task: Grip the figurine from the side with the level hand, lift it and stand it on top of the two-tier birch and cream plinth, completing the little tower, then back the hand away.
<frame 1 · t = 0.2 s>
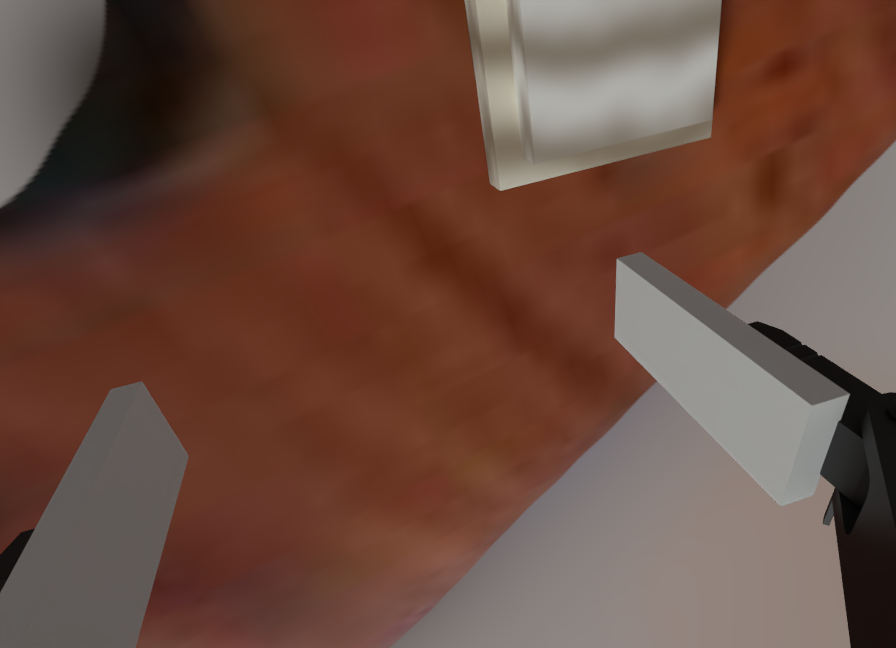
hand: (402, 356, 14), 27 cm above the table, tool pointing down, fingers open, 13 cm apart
plinth: (588, 34, 37), on the table
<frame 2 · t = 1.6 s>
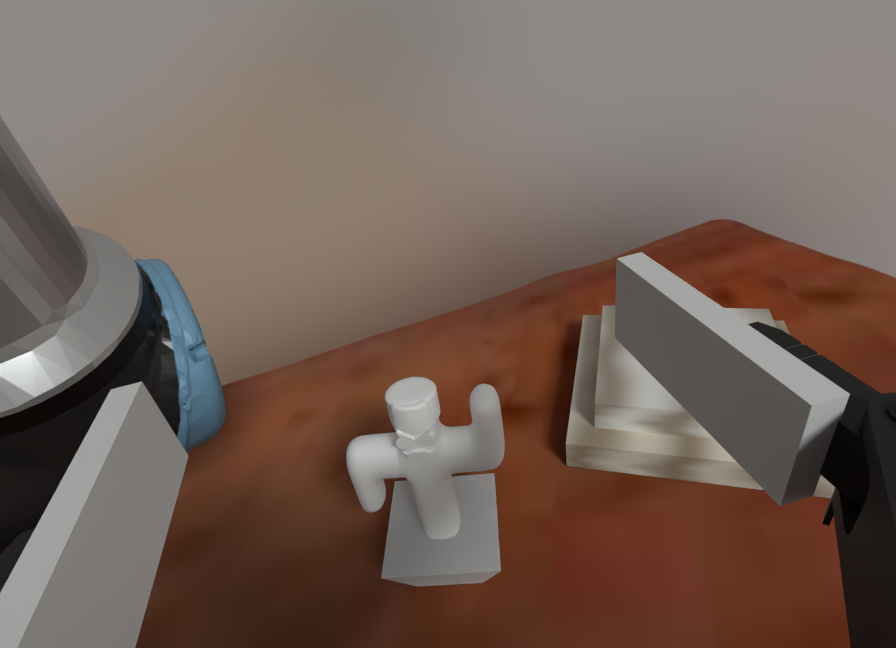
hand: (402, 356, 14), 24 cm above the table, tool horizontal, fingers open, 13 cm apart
plinth: (682, 398, 44), on the table
figurine: (451, 555, 35), on the table
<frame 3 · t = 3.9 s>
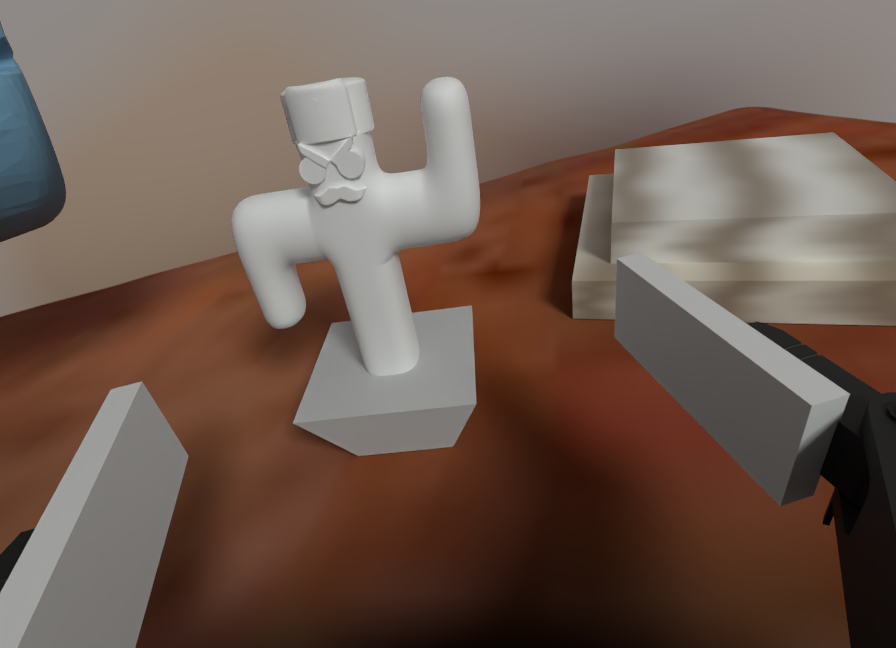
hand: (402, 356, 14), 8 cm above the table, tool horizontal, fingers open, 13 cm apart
plinth: (723, 247, 33), on the table
figurine: (409, 420, 24), on the table
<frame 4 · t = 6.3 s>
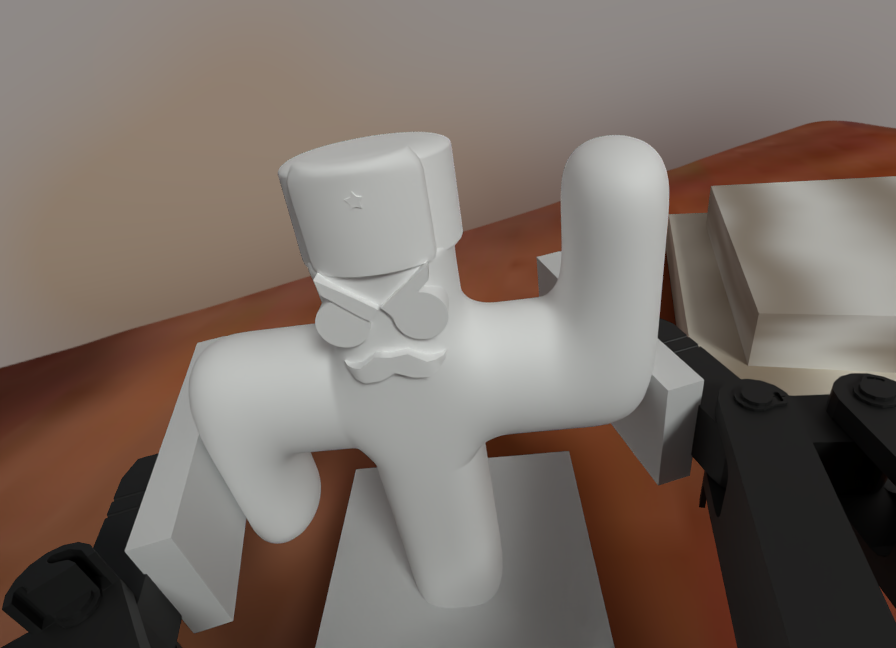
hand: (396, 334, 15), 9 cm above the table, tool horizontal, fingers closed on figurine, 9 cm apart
plinth: (874, 325, 25), on the table
figurine: (476, 631, 16), on the table, touching gripper
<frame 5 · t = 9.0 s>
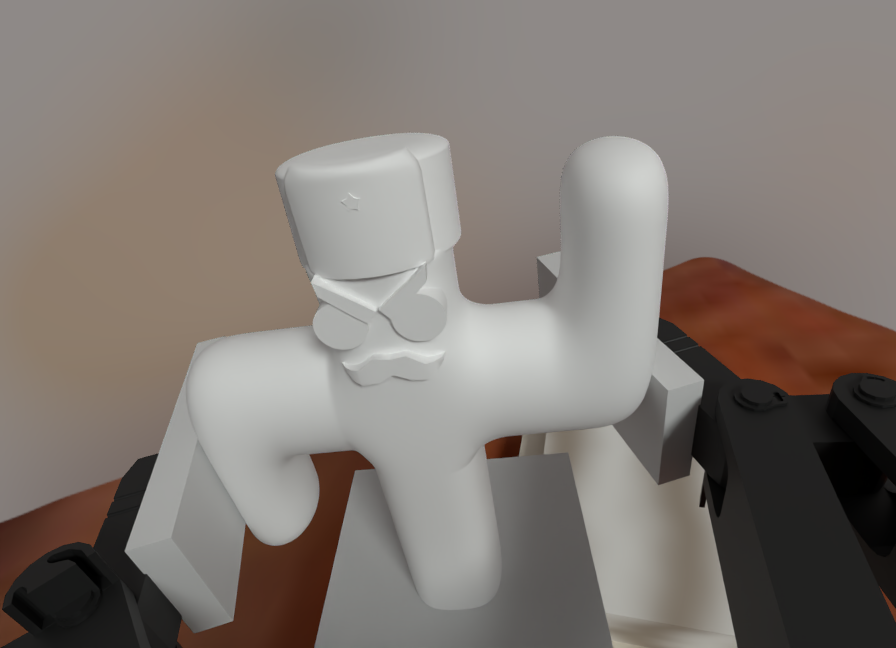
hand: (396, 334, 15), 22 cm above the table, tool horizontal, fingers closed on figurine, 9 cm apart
plinth: (659, 548, 31), on the table
figurine: (475, 633, 16), point 13 cm above the table, touching gripper
when the fingers open (15 cm above the table, at t = 12.2 s): figurine drops 1 cm, resting on plinth.
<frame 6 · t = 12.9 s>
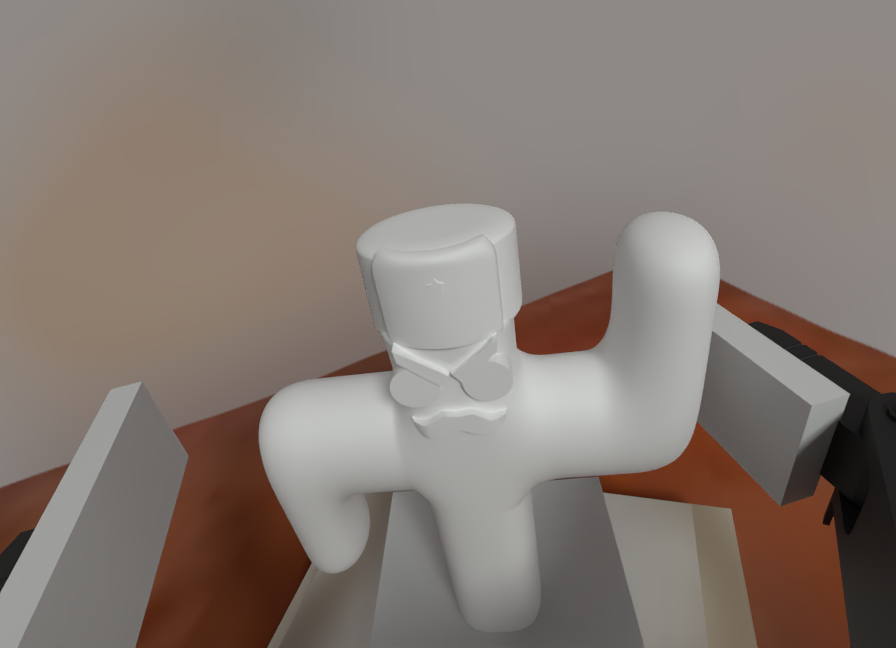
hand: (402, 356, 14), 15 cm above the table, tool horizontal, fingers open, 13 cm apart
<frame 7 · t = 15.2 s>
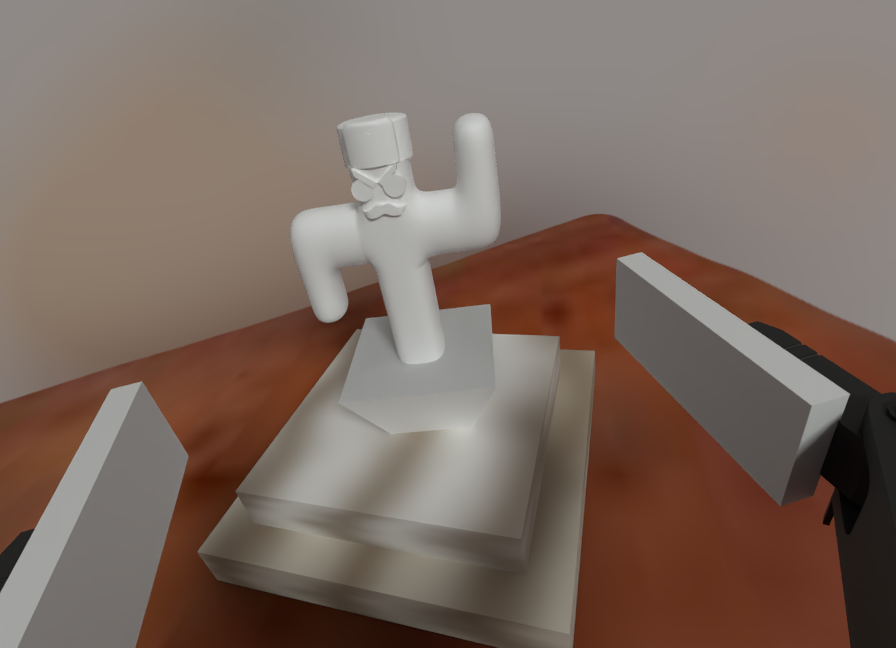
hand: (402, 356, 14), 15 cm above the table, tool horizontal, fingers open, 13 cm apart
plinth: (431, 466, 30), on the table
figurine: (434, 404, 28), point 5 cm above the table, touching plinth
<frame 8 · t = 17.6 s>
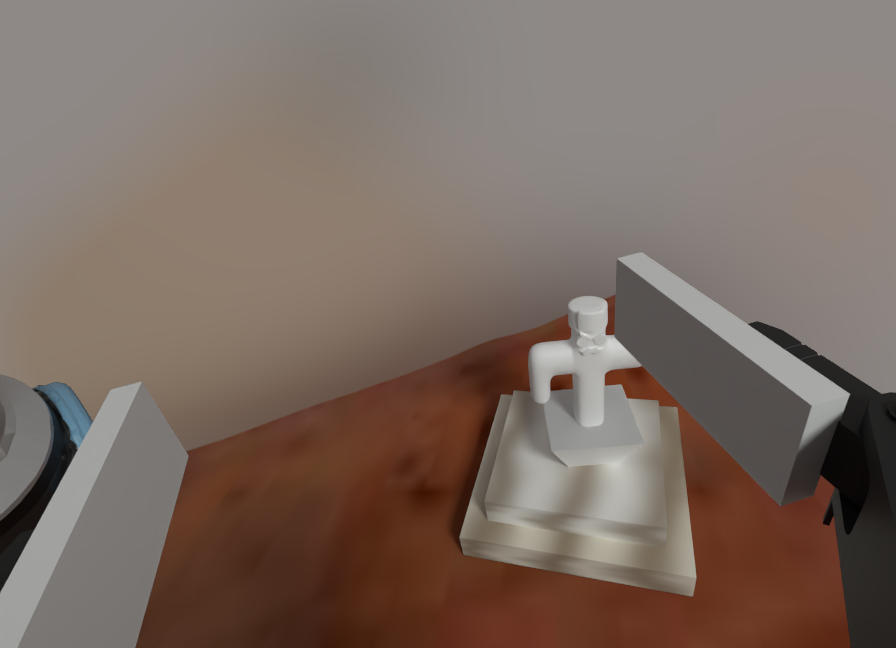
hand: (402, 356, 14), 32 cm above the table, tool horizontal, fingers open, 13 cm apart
plinth: (578, 484, 48), on the table
figurine: (588, 447, 45), point 5 cm above the table, touching plinth
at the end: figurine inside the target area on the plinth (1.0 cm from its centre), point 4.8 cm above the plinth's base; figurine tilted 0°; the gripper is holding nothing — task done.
